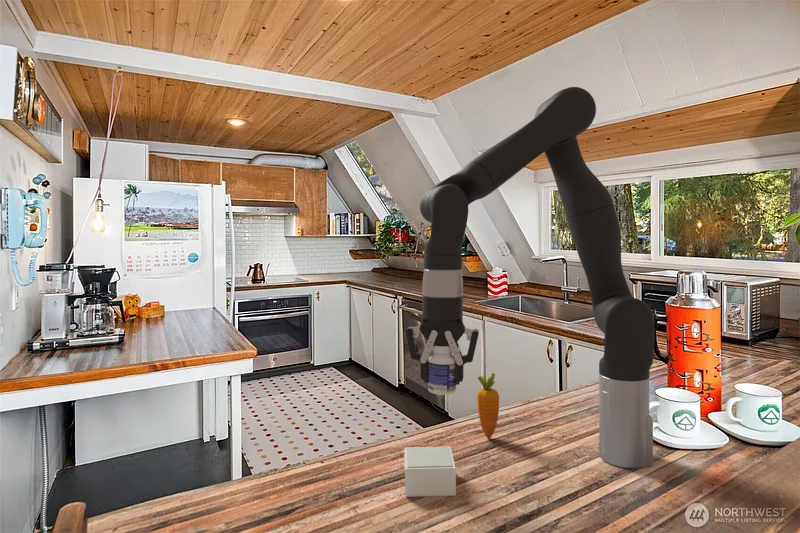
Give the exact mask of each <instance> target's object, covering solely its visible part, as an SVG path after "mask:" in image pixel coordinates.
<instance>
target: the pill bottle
mask: <svg viewBox="0 0 800 533" xmlns="http://www.w3.org/2000/svg"><path fill="white" fill-rule="evenodd" d="M431 352H432V354H431V355H429V357H428V383H427V387H428V388H427V390H428V392H429V393H431V394H434V395H439V396H447V395H452V394H455V393H456V391H457V385H455V366H456V360H455V358H454V355H453V354H452V351H451V349H450V346H433V347H432V350H431Z"/></svg>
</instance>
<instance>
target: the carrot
mask: <svg viewBox="0 0 800 533" xmlns="http://www.w3.org/2000/svg"><path fill="white" fill-rule="evenodd" d="M495 377H496V374H495V373H494V372H492V373H491V376H488V378H487V379H486V377H485V376H484V375H478V376H477V379H478V380H479V382H480V384H481V385H482V387H483V388H481V389H478V391H476V392H477V393H476V399H477V412H478V418H479V422H480V426H481V428H482V431H483V434H484V435H485V437H486V438H487V439H488V440H490V439H491V438H492V437H493V435H494V433H495V431H496V427H497V424H498V420H499V419H498V418H499V409H500V406H499V405H500V394H499V393H498V391H497V390H496V389H495V388H492V387H493V385H494V384H495V383H496V382H495Z"/></svg>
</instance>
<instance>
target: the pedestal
mask: <svg viewBox="0 0 800 533" xmlns="http://www.w3.org/2000/svg"><path fill="white" fill-rule="evenodd" d="M403 451H404V452H403V454H404V455H403V456H404V493H405V495H404V496H405V497H406V498H407V497H408V498H409V497H412V498H413V497H450V496H454V497H455V496H457V476H456V473H457V472H456V470H457V469H456V465H455V464H456V463H455V460H454V456H453V452H452V451H453V450H452V448H451V446H419V447H418V446H416V447H414V446H412V447H411V446H410V447H409V446H408V447H404V450H403Z"/></svg>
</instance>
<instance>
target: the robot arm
mask: <svg viewBox="0 0 800 533" xmlns="http://www.w3.org/2000/svg"><path fill="white" fill-rule="evenodd" d="M596 114H597V106H596V101H595V98H594V97H593V95H592V94H591V93H590V92H588V91H587V90H586V89H584V88H583V87H582V88H581V87H578V86H569V87H566V88H563V89H561V90H559V91H557V92H556V93H554V94H553V95H552V96H550V97H549V98H548V99H546V100H545V101H544V102H542V103H541V104H540V105H539V106H538V107H537V109H536V111H535V113H534V118H533V119H532V120H530V121H529V122H528V123H527V124H525V125H524V126H521V127H520V128H519V129H518V130H516V131H514V132H513V133H512V134H510V135H508V136H506V137H505V138H504V139H502V140H500V141H499V142H497V143H496V144H494V145H493V146H491V147H490V148H488V149H486V150H485V151H483V153H480V154H479V155H478V156H477V157H475V158H474V159H473V160H471V161H470V162H468V163H467V164H466V165H465V166H464V167H463V168H461V169H460V170H458V171H457V172H455V173H454V174H451V175H450V176H448V177H447V178H445V179H443V180H442V181H440V182H438V183H437V184H435V185H433V186H432V187H431V188H430V189H428V190H427V191H426V192H425V193H424V194H423V195H422V197H421V199H420V202H419V203H420V204H419V210H420V214H421V216H422V218H423V219H424V220H425V221H427V222H428V223H430V224H431V226H430V235H429V237H428V239H427V240H426V241H425V243H424V249H423V250H424V251H423V260H424V261H423V264H424V265H423V277H422V286H421V287H422V288H421V294H422V300H421V301H422V311H421V312H422V313H421V314H422V316H421V318H422V319H421V323H420V325H418V326H408V327H407V328H406V330H405V334H406V340H407V344H408V350H409V354H410V358H411V359H412V360H413V361H414V360H416V361H418V362H419V363H420V379H421V380H423V383H424V384H428V360H429V357H430V356H431V355H430V354H431V352H432V347H433V346H450V349H451V351H452V355H453V356H454V358H455V360H456V366H455V385H456V386H459V385H460V384H461V383H462V382H463V380H464V374H465V373H464V372H465V371H464V370H465V369H464V367H465V366H464V365H465V364H468V363H472V362H473V360H474V356H475V351H476V348H477V343H478V338H479V333H480V330H479V329H478V328H473V329H472V328H467V327H466V326H465V324H464V322H463V320H464V319H463V318H464V317H463V310H464V309H463V307H464V304H463V303H464V302H463V301H464V298H463V296H464V295H463V294H464V278H463V271H462V269H463V268H462V266H463V248H462V247H463V246H462V245H463V242H464V238H465V234H466V229H467V224H468V218H469V205H470V204H472V203H474V202H476V201H478V200H481V199H484V198H485V197H487V196H489V195H491V194H492V193H493V192H494V191H496V190H497V189H498V188H500V187H501V186H503V185H504V184H505V183H507V182H508V181H509V180H510V179H512V178H513V177H514V176H515V175H516V174H517V173H519V172H520V171H522V169H524V168H525V167H526V166H527V165H529V164H530V163H532V162H533V161H534V160H535V159H537V158H538V157H539V156H541V155H543V153H544V154H545V157H546V159H547V162H548V164H549V166H550V169H551V172H552V174H553V178H554V182H555V183H556V187H557V191H558V194H559V198H560V200H561V203H562V207H563V209H564V214H565V218H566V221H567V224H568V229H569V231H570V235H571V237H572V240H573V243H574V246H575V248H576V251H577V255H578V258H579V260H580V261H579V262H580V263H581V265H582V268H583V271H584V274H585V278H586V281H587V284H588V289H589V295H590V301H591V305H592V311H593V317H594V320H595V324H596V325H597V327H598V329H599V331H600V332H602V333H603V334H604V348H603V356H602V357H601V358H600V359H599V362H598V379H599V380H598V382H599V383H598V390H599V391H598V395H599V396H598V397H599V398H598V404H599V406H598V408H599V409H598V410H599V411H598V413H599V414H598V415H599V418H598V419H599V420H598V422H599V424H598V425H599V426H598V427H599V428H598V429H599V430H598V432H599V433H598V434H599V435H598V436H599V437H598V438H599V441H598V449H599V450H598V452H599V453H598V454H599V458H600V459H601V460H603V461H604V462H606V463H608V464H610V465H611V466H615V467H619V468H625V469H640V468H644V467H653V466H654V437H653V436H654V418H653V417H652V416H651V414H650V370H651V368H652V365H653V362H654V355H655V354H654V353H655V324H656V323H655V318H654V317H655V316H654V314H653V311H652V309H651V308H650V306H649V305H648V304H647V303H646V302H644V301H643V300H641V299H639V298H636V297H634V296H633V294H632V292H631V290H630V287H629V285H628V282H627V279H626V277H625V274H624V270H623V264H622V234H621V232H622V231H621V225H620V221H619V217H618V214H617V209H616V208H615V204H614V201H613V198H612V196H611V193H610V191H609V190H608V189H607V188H606V186H604V184H603V182H601V180H599V178H598V177H597V176H596V175H595V174H594V173H593V171H591V169H590V168H589V167H588V166H587V164H586V162H585V160H584V158H583V155H582V153H581V149H580V145H579V143H578V142H579V141H578V137H577V136H579V135H581V134H583V133H584V132H585V131H586V130H587V129H588V128H589V127H591V125H592V123H593V122H594V119H595V118H596ZM419 333H421V335H422V337H424V339H425V340H426V344H425V346H424V349H423V351H422V352H420V351H419V348H418V341H417V338H418V337H419ZM464 334H465V335H466V340H467V341H468V342H469V346H468V350H467V353H466V354H463V353H462V350H461V347H460V344H459V340H460V339H461V338H462V336H463V335H464Z"/></svg>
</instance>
